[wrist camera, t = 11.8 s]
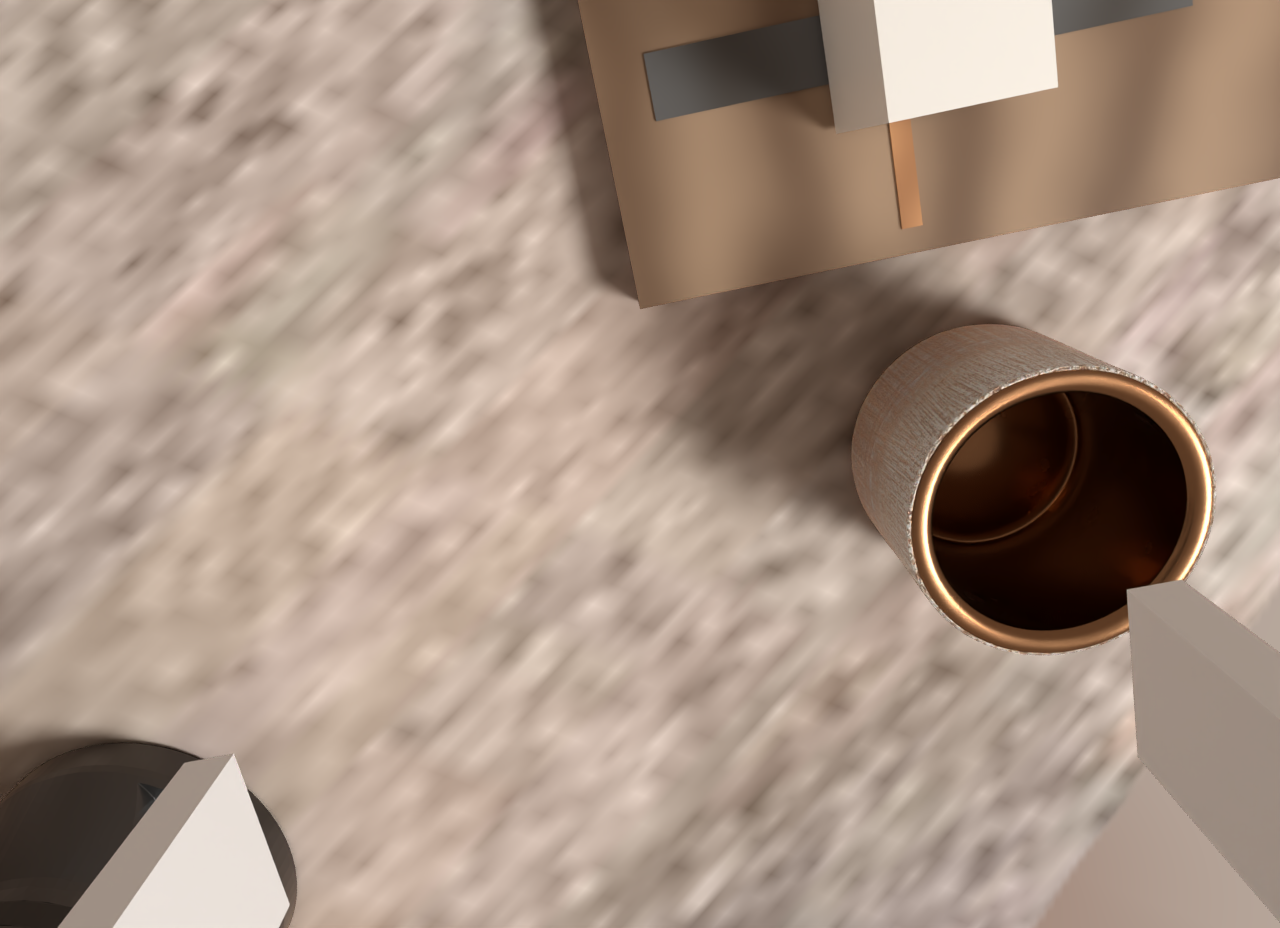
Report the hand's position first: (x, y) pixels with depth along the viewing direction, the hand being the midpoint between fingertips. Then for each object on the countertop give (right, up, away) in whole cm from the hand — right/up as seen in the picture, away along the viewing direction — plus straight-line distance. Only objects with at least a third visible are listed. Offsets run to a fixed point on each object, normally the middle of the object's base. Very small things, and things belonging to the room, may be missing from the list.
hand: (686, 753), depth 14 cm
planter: (+14, +5, +29) cm, 32 cm away
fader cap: (+9, +20, +21) cm, 30 cm away
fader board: (+11, +21, +24) cm, 33 cm away
